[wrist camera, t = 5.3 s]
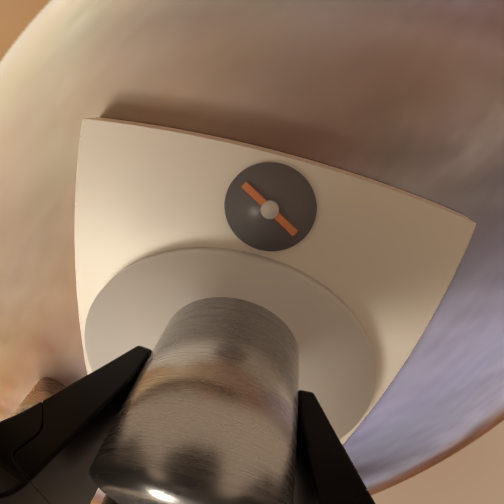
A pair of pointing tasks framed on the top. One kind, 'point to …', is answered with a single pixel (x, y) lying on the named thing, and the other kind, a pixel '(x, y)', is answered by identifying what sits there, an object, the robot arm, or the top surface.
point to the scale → (257, 253)
